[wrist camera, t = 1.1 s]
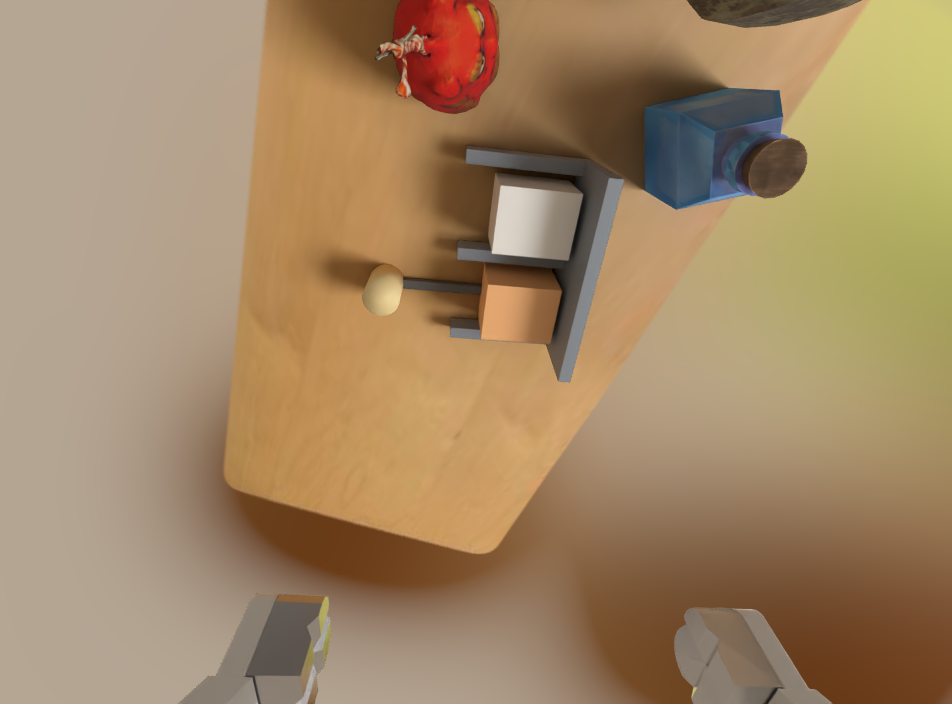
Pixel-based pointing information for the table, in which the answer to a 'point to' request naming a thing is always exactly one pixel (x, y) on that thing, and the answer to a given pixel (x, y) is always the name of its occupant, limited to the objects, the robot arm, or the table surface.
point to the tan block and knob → (484, 299)
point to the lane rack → (570, 274)
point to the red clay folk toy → (444, 51)
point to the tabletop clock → (764, 10)
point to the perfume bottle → (720, 148)
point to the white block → (533, 216)
